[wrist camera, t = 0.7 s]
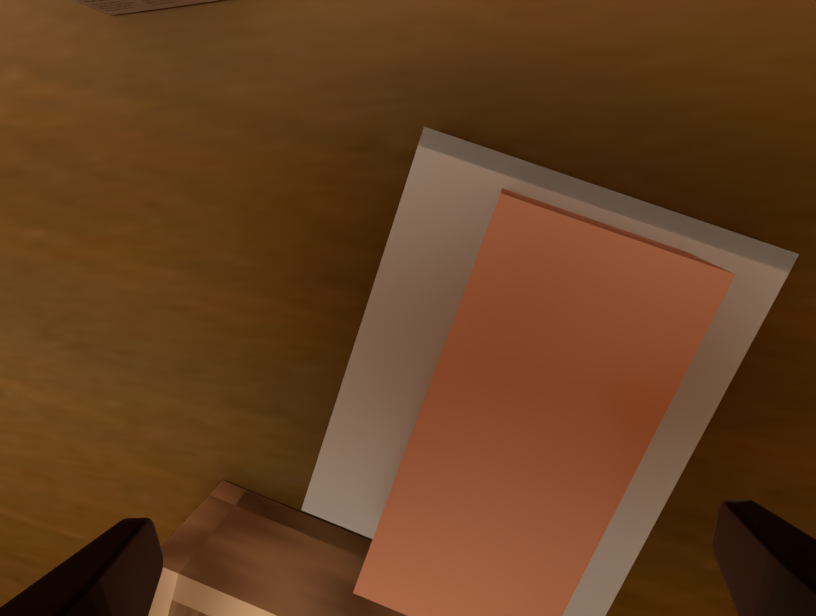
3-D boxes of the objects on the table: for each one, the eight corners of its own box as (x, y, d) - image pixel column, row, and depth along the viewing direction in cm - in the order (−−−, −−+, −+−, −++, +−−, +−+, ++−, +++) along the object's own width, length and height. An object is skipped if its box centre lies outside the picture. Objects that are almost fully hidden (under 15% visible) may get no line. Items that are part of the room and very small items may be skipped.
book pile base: (763, 243, 20) (799, 254, 17) (588, 584, 24) (597, 630, 21) (434, 131, 20) (424, 126, 18) (321, 477, 25) (301, 510, 22)
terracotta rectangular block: (686, 251, 18) (735, 274, 14) (530, 579, 21) (534, 669, 17) (502, 188, 18) (500, 193, 14) (380, 518, 22) (352, 592, 18)
